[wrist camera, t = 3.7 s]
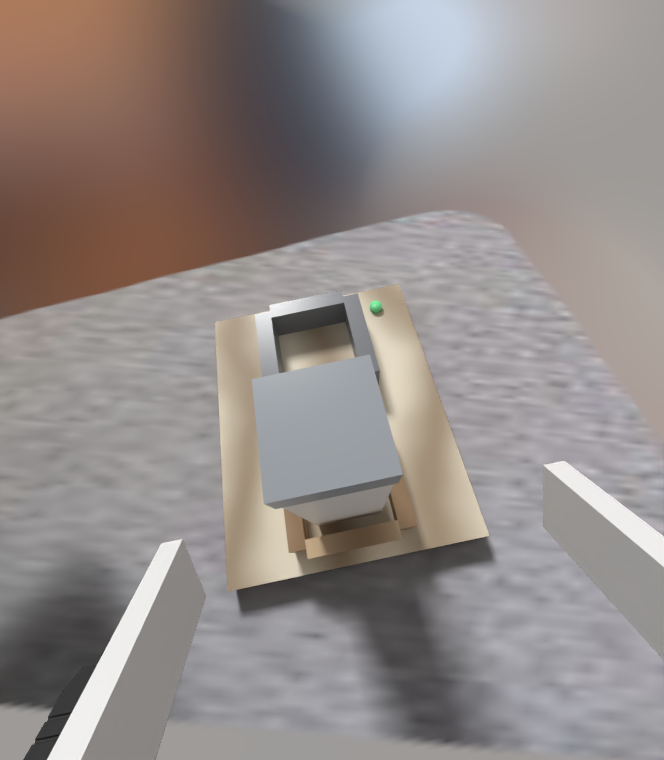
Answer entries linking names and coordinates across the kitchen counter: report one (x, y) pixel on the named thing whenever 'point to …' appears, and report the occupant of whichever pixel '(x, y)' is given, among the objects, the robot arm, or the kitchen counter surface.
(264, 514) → the board
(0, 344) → the kitchen counter surface
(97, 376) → the kitchen counter surface
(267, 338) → the port
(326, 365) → the plug
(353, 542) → the holster
